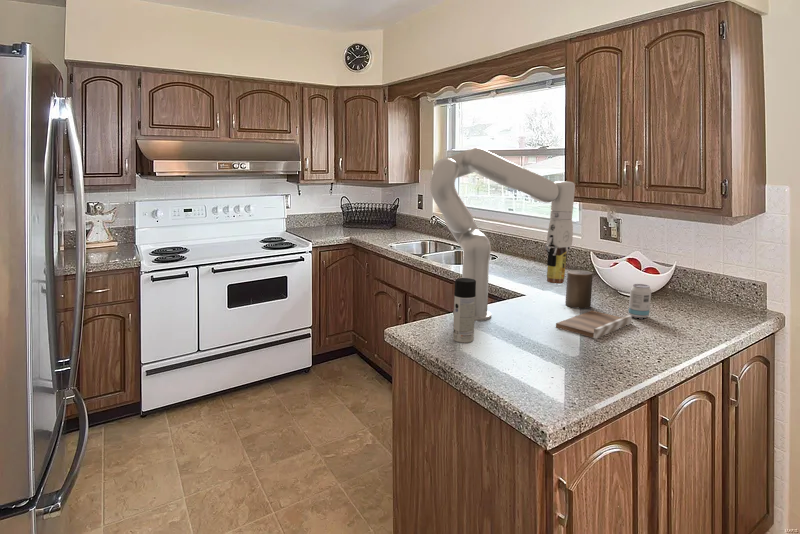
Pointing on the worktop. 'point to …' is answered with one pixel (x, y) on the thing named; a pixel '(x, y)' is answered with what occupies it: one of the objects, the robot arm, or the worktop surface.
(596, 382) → the worktop surface
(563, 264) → the sauce bottle
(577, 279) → the pillar candle
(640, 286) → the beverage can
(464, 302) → the spray can
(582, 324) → the shelf board
